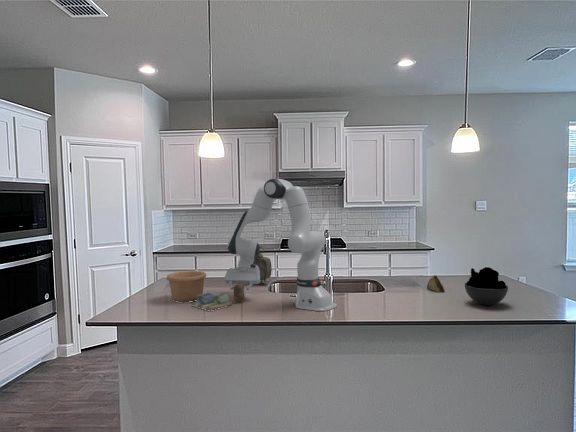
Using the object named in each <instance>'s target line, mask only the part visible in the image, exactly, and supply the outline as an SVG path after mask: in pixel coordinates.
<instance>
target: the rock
mask: <svg viewBox="0 0 576 432" xmlns="http://www.w3.org/2000/svg"><path fill="white" fill-rule="evenodd" d="M426 289H427V290H430V291H431V292H436V293H446V290H445V287H444V285H443V284H442V283H441V280H440V279H439V278H438V276H437V275H436V274H434V275H433V276H432V277H431V278H430V279H429V280H428V282H427V284H426Z"/></svg>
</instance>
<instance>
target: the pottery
mask: <svg viewBox="0 0 576 432" xmlns="http://www.w3.org/2000/svg"><path fill="white" fill-rule="evenodd" d="M206 277H207V273H206V272H204V271H198V270H186V271H185V270H183V271H178V272H177V271H176V272H173V273H169V274H167V275H166V280H167V281H168V282H169V286H170V293H171V298H172V299H173V300H174V301H178V302H189V301H195V300H197V295H200V294H204V283H205V278H206ZM172 299H171V300H172ZM173 300H172V301H173ZM174 301H173V302H174ZM195 302H196V301H195Z"/></svg>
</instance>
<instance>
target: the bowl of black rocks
mask: <svg viewBox="0 0 576 432" xmlns="http://www.w3.org/2000/svg"><path fill="white" fill-rule="evenodd" d="M499 275H500V273H499V272H498V271H497V270H495V269H493V268H491V267H489V266H487V267H486V266H485V267H483V268H481V269H479V271H477V270H476V271H475V268H473V267H471V269H470V277H469V278H468V280H467V281H466V282H465V283H464V290H465V292H466V294H467V295H468V296H469V298H470V299H471V300H473V301H474V302H476V303H478V304H480V305H483V306H492V305H495V304H499V303H500V302H501V301H503V300H504V298H505V297H506V296H507V293H508V291H509V286H508V285H507V284H506V282H505V281H504V280H499Z"/></svg>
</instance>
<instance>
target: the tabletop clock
mask: <svg viewBox="0 0 576 432" xmlns="http://www.w3.org/2000/svg"><path fill="white" fill-rule="evenodd" d="M260 249H262V251H259V256H258V258H257V259H256V260H254V262H253V264H254V265H257V266H258V267H259V270H260V282H259V284H263V283H264V286H267V285H268V283H267V282H266V280H267V279H269V278H271V277H272V270H273V269H272V268H273V267H272V261H271V258H270V257H266V256H264V255H263V253H264V252H265V248H264V247H262V246H260ZM263 281H264V282H263Z"/></svg>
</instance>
